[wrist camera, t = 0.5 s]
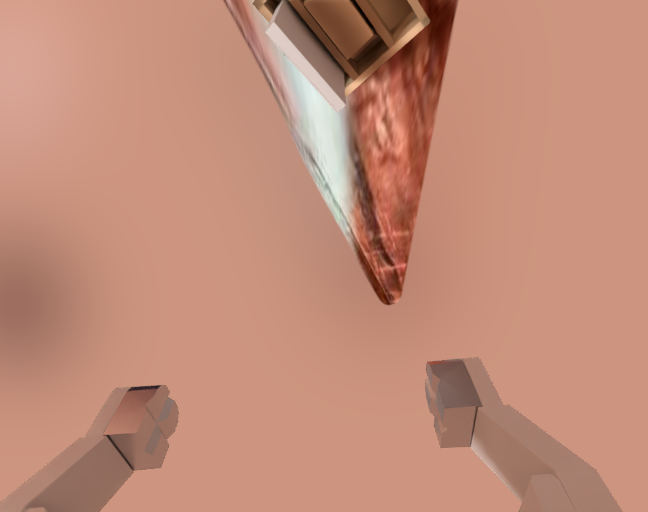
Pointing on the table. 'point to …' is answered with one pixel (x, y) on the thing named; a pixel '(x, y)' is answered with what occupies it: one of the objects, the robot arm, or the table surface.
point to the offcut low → (369, 25)
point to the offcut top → (341, 23)
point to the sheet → (307, 53)
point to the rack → (390, 25)
